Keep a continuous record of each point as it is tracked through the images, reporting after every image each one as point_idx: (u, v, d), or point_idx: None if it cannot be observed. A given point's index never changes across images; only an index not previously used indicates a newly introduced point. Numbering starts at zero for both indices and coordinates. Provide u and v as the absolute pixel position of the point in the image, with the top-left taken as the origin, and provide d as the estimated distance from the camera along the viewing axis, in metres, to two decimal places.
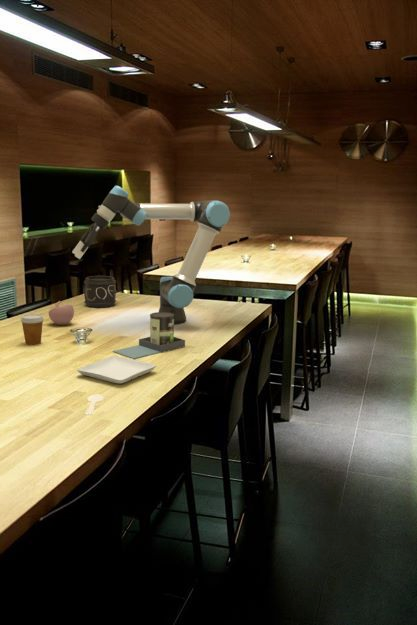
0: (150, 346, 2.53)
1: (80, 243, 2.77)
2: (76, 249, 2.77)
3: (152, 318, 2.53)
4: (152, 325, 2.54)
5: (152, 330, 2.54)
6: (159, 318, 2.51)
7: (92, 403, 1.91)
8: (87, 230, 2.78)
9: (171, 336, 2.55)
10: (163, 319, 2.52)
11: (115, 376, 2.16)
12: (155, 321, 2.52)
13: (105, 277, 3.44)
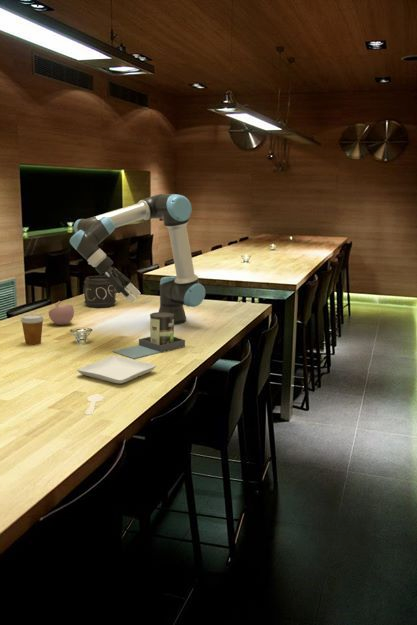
0: (150, 346, 2.53)
1: (128, 287, 2.60)
2: (134, 292, 2.61)
3: (152, 318, 2.53)
4: (152, 325, 2.54)
5: (152, 330, 2.54)
6: (159, 318, 2.51)
7: (92, 403, 1.91)
8: None
9: (171, 336, 2.55)
10: (163, 319, 2.52)
11: (115, 376, 2.16)
12: (155, 321, 2.52)
13: (105, 277, 3.44)
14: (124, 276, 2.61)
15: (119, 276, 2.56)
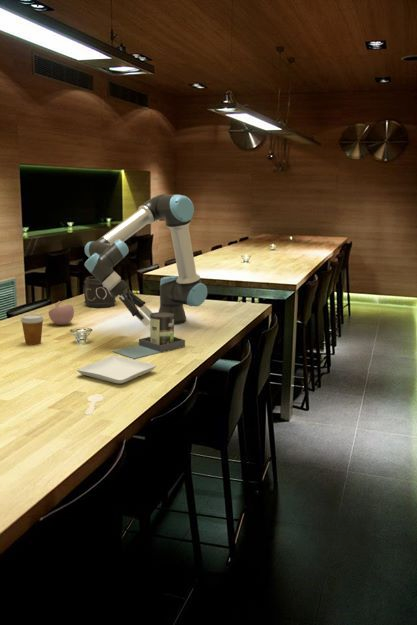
0: (150, 346, 2.53)
1: (142, 309, 2.62)
2: (148, 314, 2.62)
3: (152, 318, 2.53)
4: (152, 325, 2.54)
5: (152, 330, 2.54)
6: (159, 318, 2.51)
7: (92, 403, 1.91)
8: None
9: (171, 336, 2.55)
10: (163, 319, 2.52)
11: (115, 376, 2.16)
12: (155, 321, 2.52)
13: None
14: (138, 298, 2.62)
15: (133, 298, 2.58)
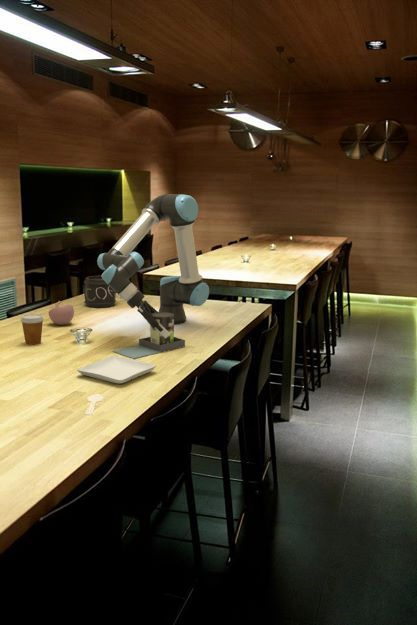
0: (150, 346, 2.53)
1: None
2: None
3: None
4: None
5: (152, 330, 2.54)
6: (159, 318, 2.51)
7: (92, 403, 1.91)
8: None
9: (171, 336, 2.55)
10: (163, 319, 2.52)
11: (115, 376, 2.16)
12: None
13: None
14: (155, 310, 2.63)
15: (150, 310, 2.59)
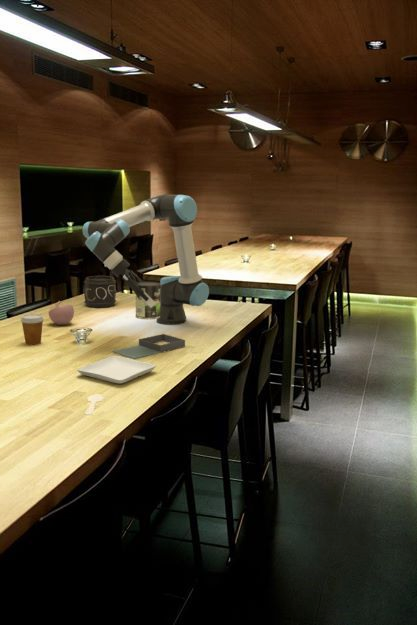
0: (150, 346, 2.53)
1: None
2: None
3: None
4: None
5: (137, 299, 2.46)
6: (145, 287, 2.43)
7: (92, 403, 1.91)
8: None
9: (157, 306, 2.47)
10: (149, 288, 2.43)
11: (115, 376, 2.16)
12: None
13: (105, 277, 3.44)
14: (141, 280, 2.54)
15: (136, 279, 2.50)
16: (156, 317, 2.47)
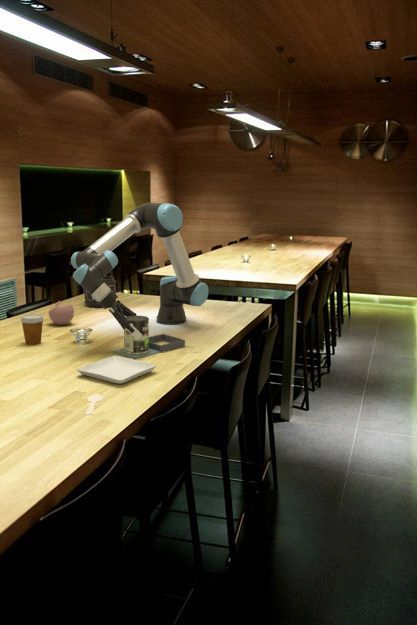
0: (150, 346, 2.53)
1: None
2: None
3: None
4: (126, 329, 2.44)
5: (126, 334, 2.45)
6: (133, 322, 2.42)
7: (92, 403, 1.91)
8: None
9: (145, 340, 2.46)
10: (137, 323, 2.42)
11: (115, 376, 2.16)
12: None
13: (105, 277, 3.44)
14: (129, 309, 2.54)
15: (124, 310, 2.49)
16: (145, 352, 2.46)
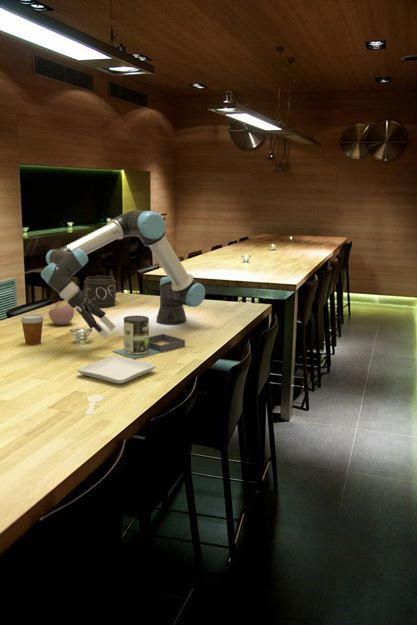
0: (150, 346, 2.53)
1: (102, 320, 2.53)
2: (108, 325, 2.54)
3: (126, 322, 2.44)
4: (126, 329, 2.44)
5: (126, 334, 2.45)
6: (133, 322, 2.42)
7: (92, 403, 1.91)
8: None
9: (145, 340, 2.46)
10: (137, 323, 2.42)
11: (115, 376, 2.16)
12: (129, 325, 2.43)
13: (105, 277, 3.44)
14: (98, 308, 2.54)
15: (93, 309, 2.49)
16: (145, 352, 2.46)
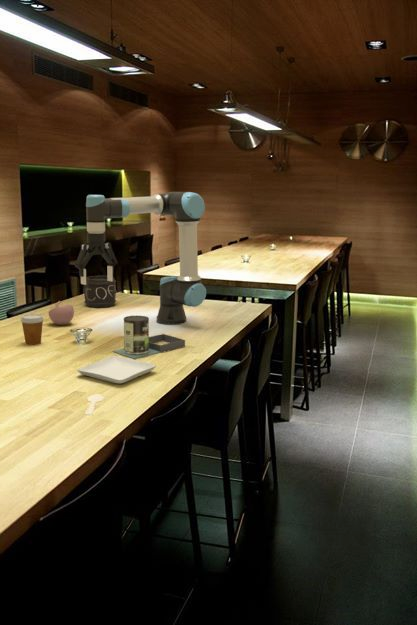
0: (150, 346, 2.53)
1: (108, 268, 2.60)
2: (108, 275, 2.61)
3: (126, 322, 2.44)
4: (126, 329, 2.44)
5: (126, 334, 2.45)
6: (133, 322, 2.42)
7: (92, 403, 1.91)
8: None
9: (145, 340, 2.46)
10: (137, 323, 2.42)
11: (115, 376, 2.16)
12: (129, 325, 2.43)
13: (105, 277, 3.44)
14: (113, 257, 2.59)
15: (103, 255, 2.56)
16: (145, 352, 2.46)
